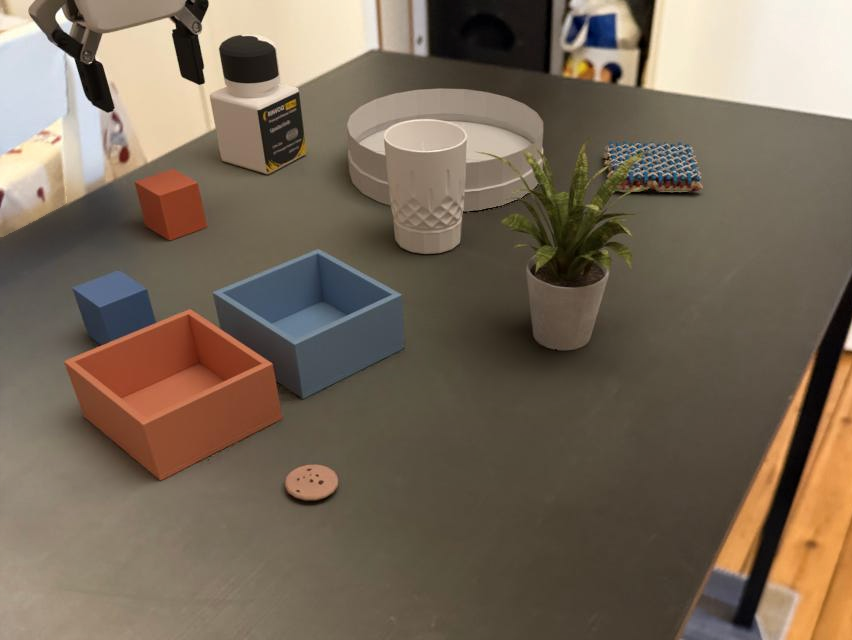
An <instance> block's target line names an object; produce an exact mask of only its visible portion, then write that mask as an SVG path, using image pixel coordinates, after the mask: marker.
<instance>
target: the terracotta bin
mask: <svg viewBox="0 0 852 640" xmlns="http://www.w3.org/2000/svg"><path fill="white" fill-rule="evenodd" d="M63 364H64V366H65V368H66V372H67V374H68V377H69V380H70V382H71V386H72V388H73V390H74V394H75V396H76V399H77V401H78V404H79V406H80V409H81V412H82V415H83V417H84V418H85V419H86V420H87V421H89V423H91V424H92V425H94V426H95V427H96V428H97V429H98V430H99V431H101V432H102V433H103V434H104V435H105V436H106V437H108V438H109V439H110V440H112V441H113V442H114V443H115V444H116V445H117V446H119V447H120V448H121V449H122V450H123V451H125V452H126V453H127V454H128V455H129V456H130V457H132V459H134V460H135V461H136V462H138V463H139V464H140V465H141V466H142V467H144V468H145V469H146V470H147V471H148V472H150V473H151V474H152V475H153V476H154V477H155V478H156V479H158V480H159V481H163V480H165V479H166V478H169V477H171V476H173V475H175V474H177V473H178V472H180V471H182V470H184V469H186V468H188V467H191V466H192V465H194V464H197V463H198V462H201V461H202V460H204V459H206V458H208V457H210V456H212V455H214V454H216V453H218V452H220V451H222V450H224V449H226V448H228V447H229V446H231V445H234V444H236V443H238V442H239V441H240V442H241V440H244V439H246V438H247V437H249V436H251V435H253V434H255V433H257V432H259V431H262V430H263V429H265V428H267V427H269V426H271V425H273V424H276V423H277V422H279V421H281V420H283V414H282V409H281V402H280V397H279V391H278V386H277V385H278V384H277V381H276V380H275V374H274V368H273V364H272V363H271V362H269V361H268V360H266V359H265V358H263V357H262V356H260V355H259V354H257V353H256V352H254V351H253V350H251V349H250V348H248V347H247V346H245V345H244V344H242V343H241V342H239V341H238V340H236V339H235V338H233V337H232V336H230V335H229V334H227V333H226V332H224V331H223V330H221V329H220V327H218V326H216V325H215V324H214V323H212V322H211V321H209V320H207V319H206V318H205V317H203V316H201V315H200V314H198V313H197V312H196V311H194V310H192V309H191V308H188V309H185V310H184V311H181V312H179V313H177V314H174V315H172V316H170V317H167V318H165V319H162V320H159V321H156V323H155V324H152V325H150V326H148V327H145V328H143V329H140V330H138V331H136V332H133V333H131V334H128V335H126V336H123V337H121V338H119V339H116V340H114V341H111V342H109V343H107V344H104V345H102V346H101V345H100V346H97V347H95V348H92V349H90V350H87V351H85V352H82V353H80V354H78V355H76V356H73V357H71V358H67V359H66V360H64V361H63Z"/></svg>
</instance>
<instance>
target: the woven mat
mask: <svg viewBox="0 0 852 640" xmlns="http://www.w3.org/2000/svg"><path fill="white" fill-rule="evenodd" d="M613 143H614V142H613V140H609V144H608V145H606V146H605V147H604V150H605V151H606V152H603V154H602V155H603V156H602V159H603V158H605V159H604V164H603V165H605V166H607V165H609V164H611V163H613V162H614V161H615V162H614V163H613V164H611V165H610V166H609V167H608V168H607V169H608V174H607V176H606V177H607V179H608V178H609V177H610V176H611V175H612V173H613V172H614V171H615V170H616V169H617V168H618V167H619V166H620V165H621V164H622V163H624V162H625V161H626V160H627V159H629V158H630V157H632V156H634V155H636V154H639V153H642V152H645V151H648V152H646V153H645V154H644V155H643V156H642V157H641V158H640V159H639V160H638V161H637V162H636V163H635V164H634V165H633V166H632V167H631V168H630V170H629V172H628V174H627V176H626V178H625V180H624V181H623V183H622V184H621V185H620V186H619V187H618V188H617V189H616V190H632V189H634V188H637V187H650V188H646V189H642V190H647V191H648V190H649V191H655V190H658V191H663V190H664V191H690V192H692V191H693V192H699V191H701V190H702V189H703V187H704V186H703V184H701V182H700V180H701V179H702V176H701V175H702V172H700V171H699V169H700V166H698V165H699V164H698V161H697V156H696V155H694V154H693V153H694V152H695V150H693V148H694V147H693V146H691V147H690V144H689V143H686V144H684V145H682V142H681V141H678V142H677V146H676V143H671V144H670V145H669V144H668V142H667V141H666V142H665V141H664V143H663V144H662V143H657V144H655V143H654V141H650V144H648V142H646V143H645V142H644V143H643V144H641V141H637V142H636V144H635V143H634V142H630V143H629V145H628V144H627V141H626V140H623V141H622V145H621V142H616V143H615V145H614V144H613ZM640 185H643V186H640ZM670 186H673V187H670ZM658 191H657V192H658Z"/></svg>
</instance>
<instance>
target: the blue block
mask: <svg viewBox="0 0 852 640" xmlns="http://www.w3.org/2000/svg"><path fill="white" fill-rule="evenodd" d="M72 292H73V294H74V297H75V301H76V304H77V307H78V310H79V312H80V315H81V318H82V322H83V325H84V328H85V330H86V333H87V336H88V337H89V338H91V339H92V340H93V341H95V342H96V343H97V344H98V345H100V346H102V345H104V344H107V343H109V342H111V341H114V340H116V339H119V338H121V337H123V336H126V335H128V334H131V333H133V332H136V331H138V330H140V329H143V328H145V327H148V326H150V325H152V324H155V323H157V320H156V318H155V317H156V316H155V313H154V310H153V306H152V302H151V299H150V296H149V295H150V294H149V291H148V289H147V287H145V286H144V285H142V284H141V283H139V282H138V281H136V280H135V279H133V277H130V276H129V275H128V274H126V273H124V272H123V271H121V270H115V271H113V272H111V273H108V274H104V275H102V276H100V277H97V278H95V279H92V280H89V281H86V282H84V283H81V284H79V285H76V286H73V287H72Z"/></svg>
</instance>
